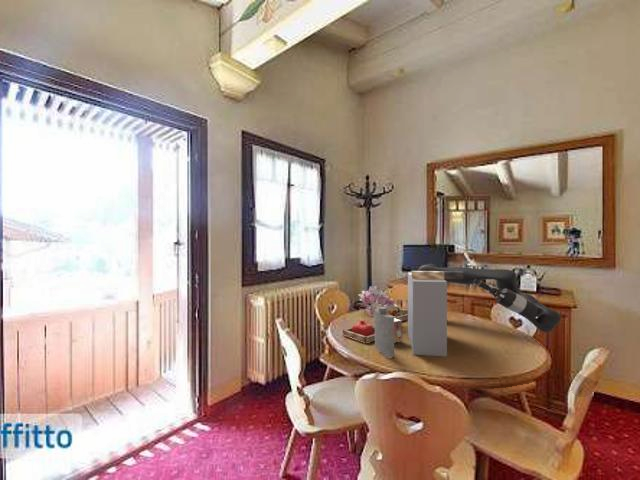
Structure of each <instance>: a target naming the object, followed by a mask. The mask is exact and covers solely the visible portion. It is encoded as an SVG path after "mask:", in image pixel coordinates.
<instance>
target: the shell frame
mask: <svg viewBox="0 0 640 480" xmlns="http://www.w3.org/2000/svg"><path fill="white" fill-rule="evenodd" d="M374 308H375V307H374ZM400 310H401V311H400V314H399V316H398V317H395V316H394V318H396V319H399V320H401V321H402V322H404V321H405V322H406V321H408V309H406V308H405V309H403V308H400ZM363 311H364V315H365V314H367V315H368V312H369V311H370V310H367V308H366V309H363ZM372 314H373V312H371V316H372ZM403 314H404V315H403ZM367 315H366V316H367ZM371 316H370V317H371Z"/></svg>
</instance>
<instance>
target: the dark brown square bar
mask: <svg viewBox="0 0 640 480" xmlns="http://www.w3.org/2000/svg"><path fill="white" fill-rule="evenodd" d="M410 272H411V278H425V279H463V272H459V271H418V270H411V271H410Z"/></svg>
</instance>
